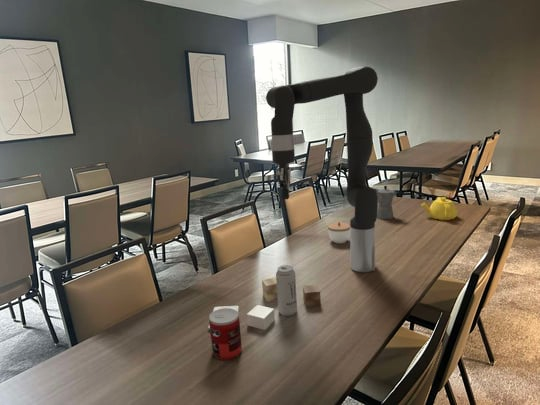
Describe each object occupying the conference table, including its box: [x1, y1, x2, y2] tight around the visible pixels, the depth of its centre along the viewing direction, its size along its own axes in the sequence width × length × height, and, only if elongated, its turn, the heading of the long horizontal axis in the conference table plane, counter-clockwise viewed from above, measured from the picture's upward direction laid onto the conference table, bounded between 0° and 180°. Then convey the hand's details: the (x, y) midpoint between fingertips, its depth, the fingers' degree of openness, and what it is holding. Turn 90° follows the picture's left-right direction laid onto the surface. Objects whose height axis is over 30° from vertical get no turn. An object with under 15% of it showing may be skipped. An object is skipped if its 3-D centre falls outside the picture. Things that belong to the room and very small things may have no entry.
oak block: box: [261, 276, 278, 303], centre depth 131 cm, size 5×5×6 cm
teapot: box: [421, 196, 458, 221], centre depth 206 cm, size 20×18×11 cm
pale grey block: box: [246, 304, 276, 331], centre depth 116 cm, size 6×6×4 cm
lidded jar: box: [327, 221, 350, 244], centre depth 180 cm, size 11×11×9 cm
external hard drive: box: [207, 305, 240, 332], centre depth 120 cm, size 2×8×12 cm
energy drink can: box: [275, 264, 298, 317], centre depth 120 cm, size 6×6×15 cm
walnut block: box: [302, 284, 322, 308], centre depth 126 cm, size 5×5×5 cm
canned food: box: [208, 308, 243, 361], centre depth 102 cm, size 8×8×11 cm
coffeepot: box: [373, 185, 398, 220], centre depth 213 cm, size 15×9×18 cm, turn 44°
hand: (285, 198), depth 131 cm, fingers closed
